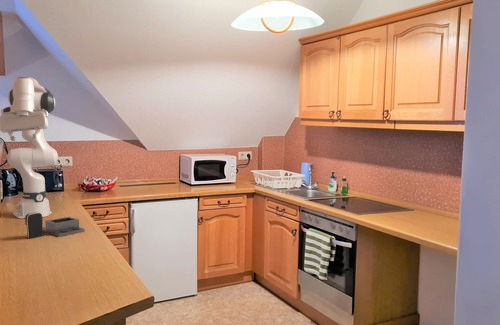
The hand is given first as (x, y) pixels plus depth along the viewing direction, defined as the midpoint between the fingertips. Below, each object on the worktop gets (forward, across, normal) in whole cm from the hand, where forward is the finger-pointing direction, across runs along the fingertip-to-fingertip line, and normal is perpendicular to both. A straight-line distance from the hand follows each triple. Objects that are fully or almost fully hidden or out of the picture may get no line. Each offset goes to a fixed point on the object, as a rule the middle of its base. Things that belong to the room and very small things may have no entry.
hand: (23, 139), depth 197 cm
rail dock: (+38, -5, -33) cm, 50 cm away
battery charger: (+40, +5, -24) cm, 47 cm away
